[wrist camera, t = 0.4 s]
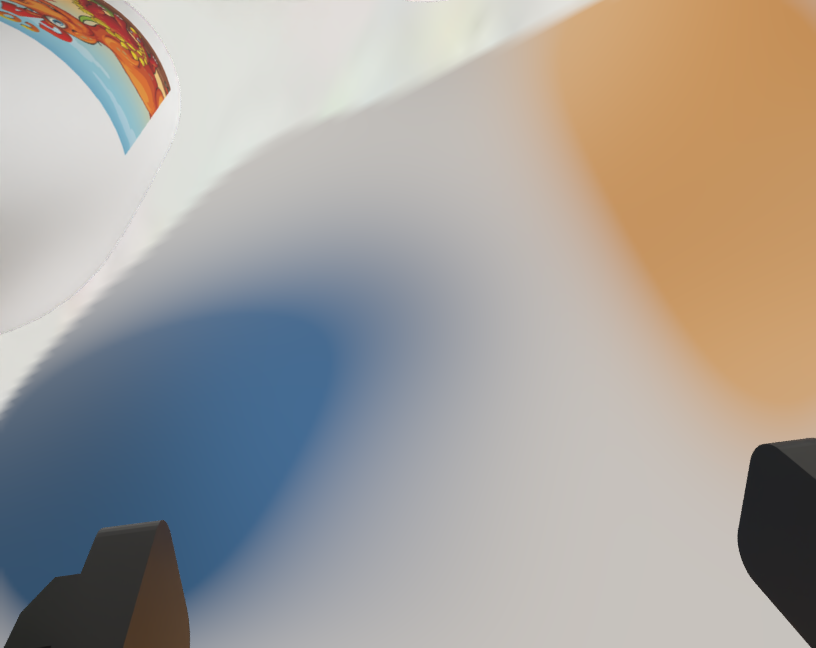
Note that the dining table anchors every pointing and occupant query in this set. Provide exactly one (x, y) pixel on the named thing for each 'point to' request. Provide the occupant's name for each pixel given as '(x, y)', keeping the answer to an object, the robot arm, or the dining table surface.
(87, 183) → the milk bottle
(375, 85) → the dining table surface
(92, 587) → the robot arm
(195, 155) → the dining table surface
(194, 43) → the dining table surface
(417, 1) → the white cup
